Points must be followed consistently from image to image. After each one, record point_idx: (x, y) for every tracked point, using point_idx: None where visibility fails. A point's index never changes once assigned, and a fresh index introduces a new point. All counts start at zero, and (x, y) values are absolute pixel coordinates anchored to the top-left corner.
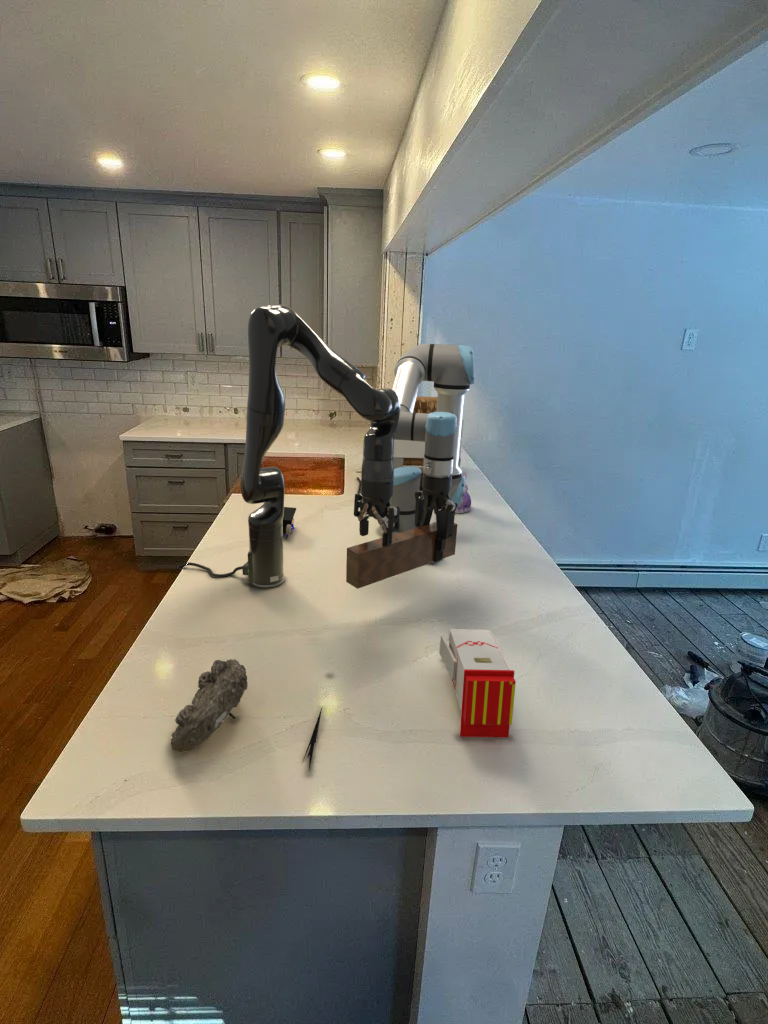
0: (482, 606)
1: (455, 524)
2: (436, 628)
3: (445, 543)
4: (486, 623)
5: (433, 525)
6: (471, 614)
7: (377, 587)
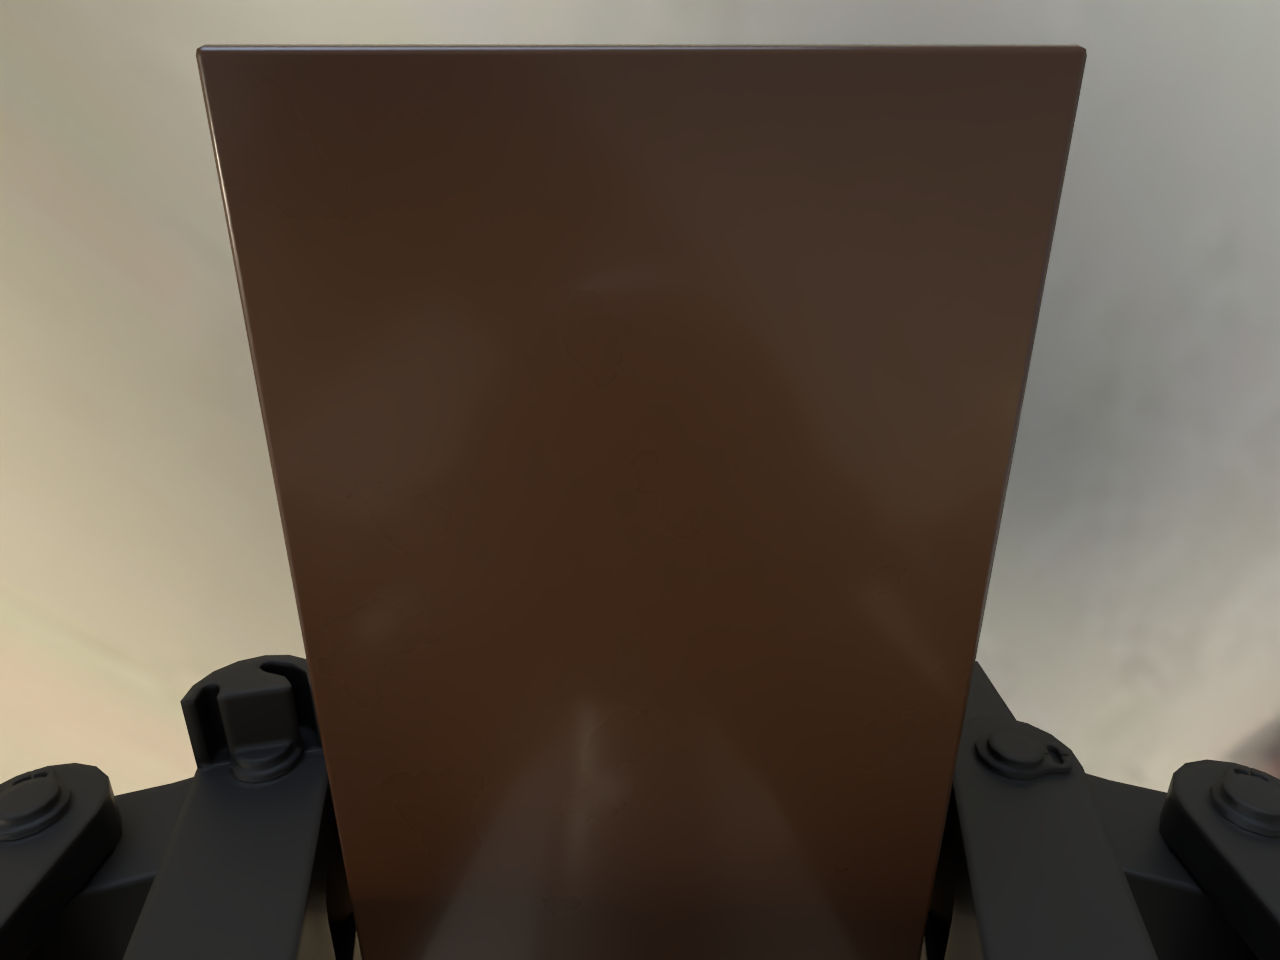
0: (1084, 88)
1: (1038, 190)
2: (993, 636)
3: (990, 684)
4: (1250, 303)
5: (543, 934)
6: (1080, 292)
7: (288, 583)
